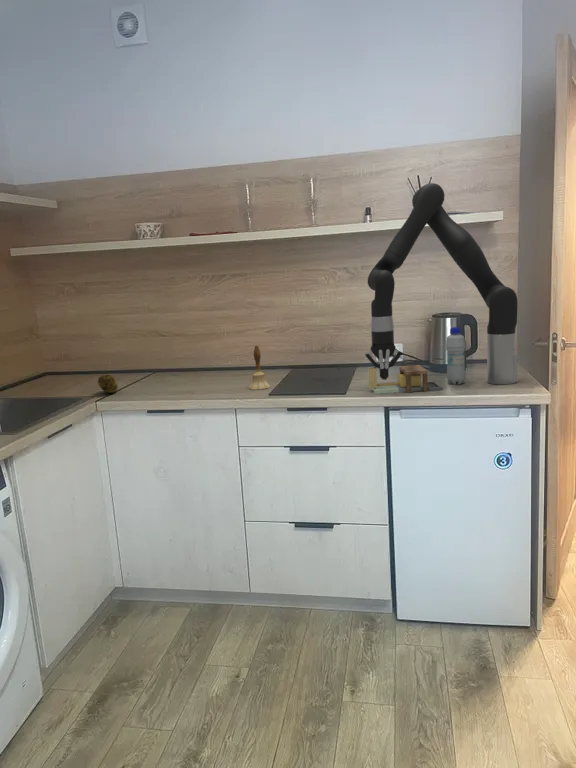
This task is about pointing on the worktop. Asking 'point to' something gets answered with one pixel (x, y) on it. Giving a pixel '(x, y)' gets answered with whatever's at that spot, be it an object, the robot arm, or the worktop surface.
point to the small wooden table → (411, 371)
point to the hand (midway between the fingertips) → (384, 379)
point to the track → (395, 389)
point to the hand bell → (258, 374)
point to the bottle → (455, 357)
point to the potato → (108, 383)
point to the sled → (401, 381)
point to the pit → (434, 386)
